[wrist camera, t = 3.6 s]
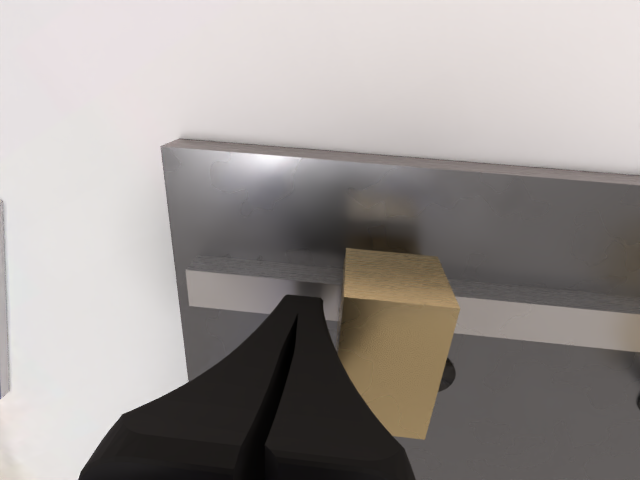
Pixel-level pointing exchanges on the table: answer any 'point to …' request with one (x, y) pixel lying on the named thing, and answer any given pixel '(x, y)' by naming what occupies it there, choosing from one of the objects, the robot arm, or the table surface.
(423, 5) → the table surface
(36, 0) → the table surface
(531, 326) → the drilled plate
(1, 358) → the hard drive
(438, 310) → the block
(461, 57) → the table surface
